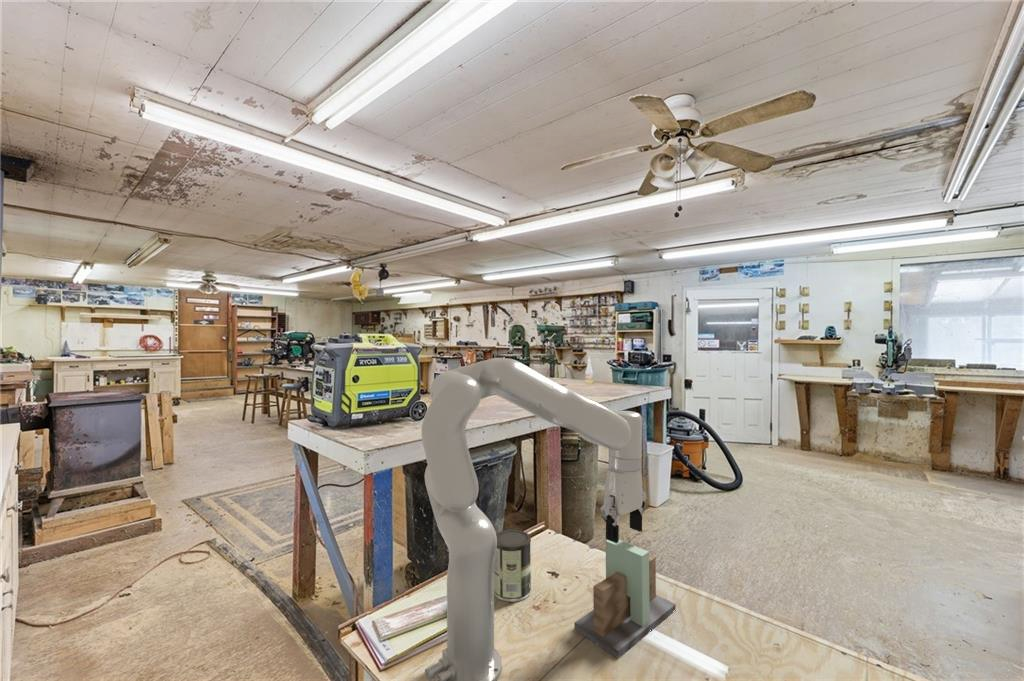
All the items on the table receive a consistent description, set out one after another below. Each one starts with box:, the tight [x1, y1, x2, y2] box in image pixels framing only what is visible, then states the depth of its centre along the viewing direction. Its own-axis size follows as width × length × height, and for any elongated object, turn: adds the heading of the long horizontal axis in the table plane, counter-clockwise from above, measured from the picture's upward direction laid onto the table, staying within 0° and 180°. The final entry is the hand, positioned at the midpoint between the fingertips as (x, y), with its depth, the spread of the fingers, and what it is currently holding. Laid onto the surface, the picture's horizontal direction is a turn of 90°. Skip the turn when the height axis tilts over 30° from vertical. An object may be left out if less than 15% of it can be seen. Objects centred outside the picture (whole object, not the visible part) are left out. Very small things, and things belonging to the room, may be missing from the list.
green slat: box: [605, 539, 650, 627], centre depth 99 cm, size 3×10×16 cm, turn 42°
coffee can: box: [494, 529, 532, 603], centre depth 111 cm, size 10×10×14 cm
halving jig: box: [574, 554, 677, 659], centre depth 100 cm, size 24×12×12 cm, turn 131°
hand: (624, 535), depth 100 cm, fingers open, 9 cm apart
